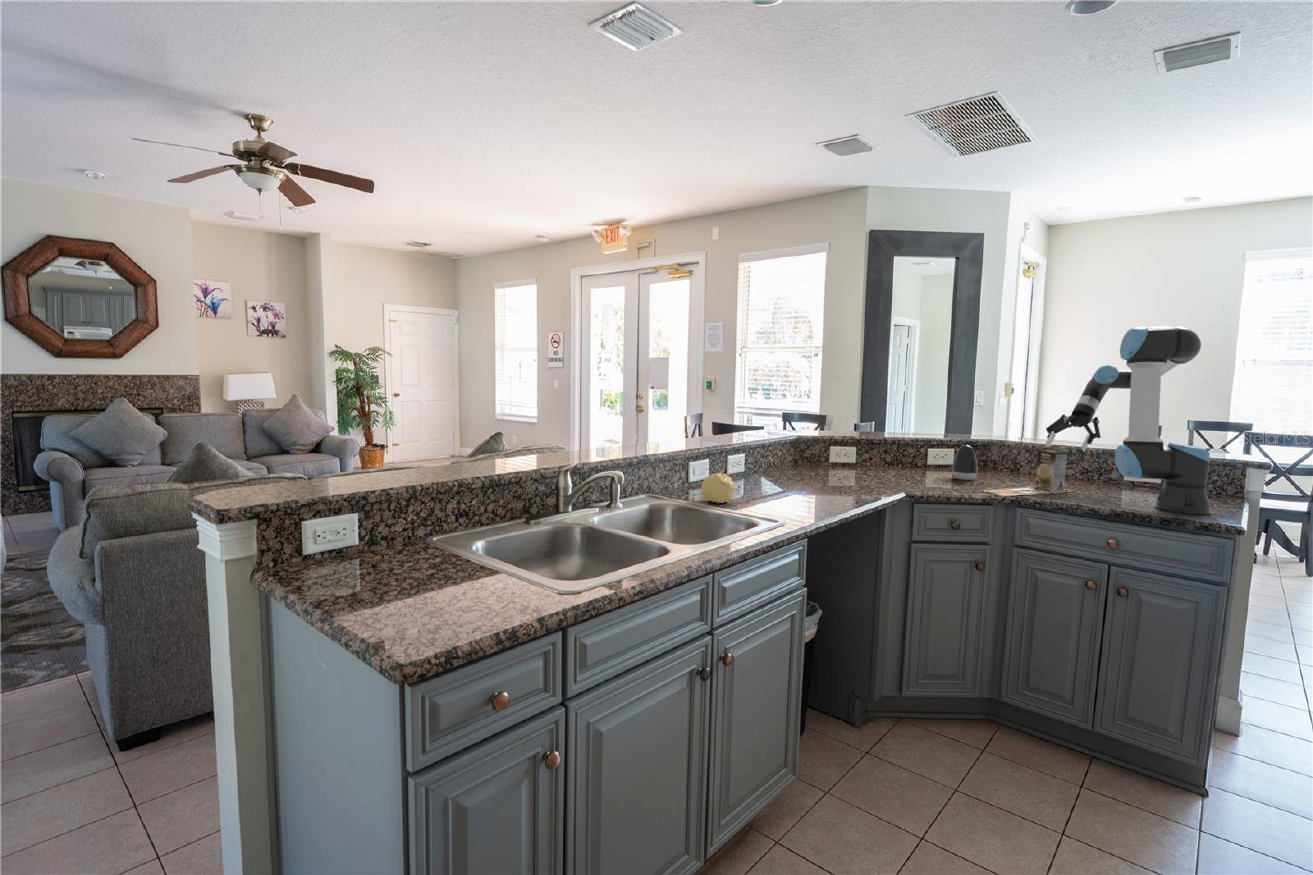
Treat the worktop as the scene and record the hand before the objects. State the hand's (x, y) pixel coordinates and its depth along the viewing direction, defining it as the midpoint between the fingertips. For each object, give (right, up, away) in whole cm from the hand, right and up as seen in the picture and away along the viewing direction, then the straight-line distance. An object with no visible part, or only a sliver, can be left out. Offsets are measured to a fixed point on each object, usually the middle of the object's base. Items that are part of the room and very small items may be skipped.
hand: (1064, 446), depth 269 cm
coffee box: (-9, -18, -4) cm, 20 cm away
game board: (-20, -18, -8) cm, 28 cm away
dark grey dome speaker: (-33, -15, +19) cm, 40 cm away
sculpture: (-146, -20, -32) cm, 151 cm away
